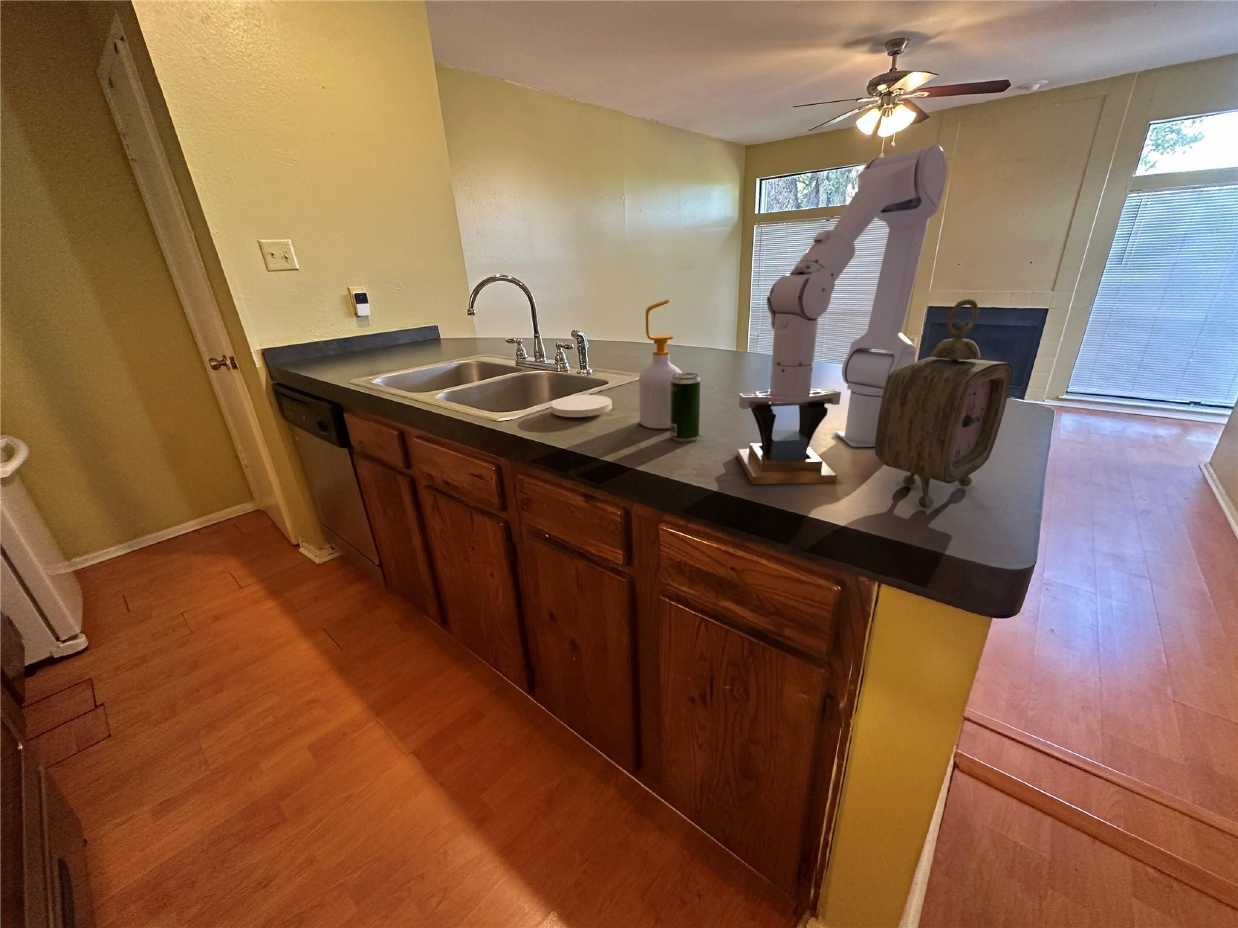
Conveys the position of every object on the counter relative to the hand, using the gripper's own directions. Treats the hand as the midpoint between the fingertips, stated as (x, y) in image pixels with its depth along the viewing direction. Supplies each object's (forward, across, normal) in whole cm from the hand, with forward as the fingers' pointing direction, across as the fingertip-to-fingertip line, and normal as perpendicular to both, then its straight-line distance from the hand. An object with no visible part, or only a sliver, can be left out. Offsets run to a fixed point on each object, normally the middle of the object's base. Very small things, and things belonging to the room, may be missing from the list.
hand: (784, 450), depth 74 cm
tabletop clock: (+3, -16, +10) cm, 19 cm away
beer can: (+3, +13, -17) cm, 21 cm away
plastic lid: (+3, +34, -38) cm, 51 cm away
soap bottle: (+3, +16, -27) cm, 32 cm away
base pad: (+3, 0, 0) cm, 3 cm away
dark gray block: (+1, 0, 0) cm, 1 cm away
